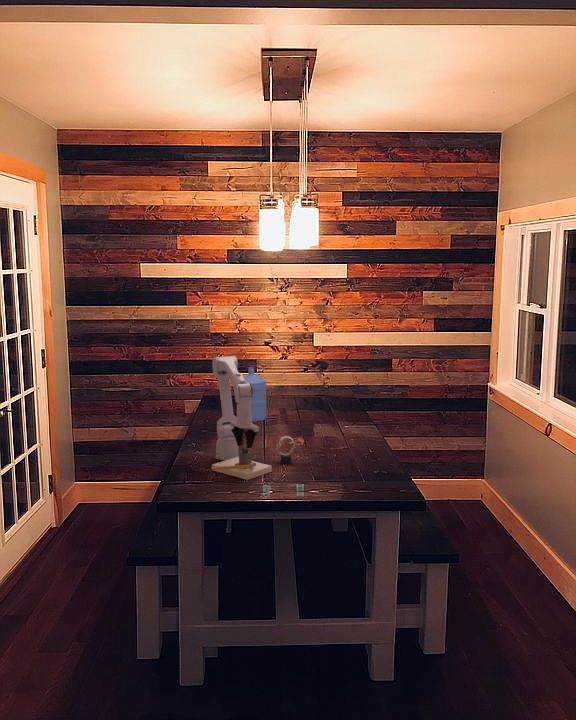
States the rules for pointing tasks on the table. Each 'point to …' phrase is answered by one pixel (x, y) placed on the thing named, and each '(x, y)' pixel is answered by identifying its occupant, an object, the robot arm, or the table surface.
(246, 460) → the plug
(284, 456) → the watch
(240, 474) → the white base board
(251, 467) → the orange long bar
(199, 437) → the table surface
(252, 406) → the water jug
